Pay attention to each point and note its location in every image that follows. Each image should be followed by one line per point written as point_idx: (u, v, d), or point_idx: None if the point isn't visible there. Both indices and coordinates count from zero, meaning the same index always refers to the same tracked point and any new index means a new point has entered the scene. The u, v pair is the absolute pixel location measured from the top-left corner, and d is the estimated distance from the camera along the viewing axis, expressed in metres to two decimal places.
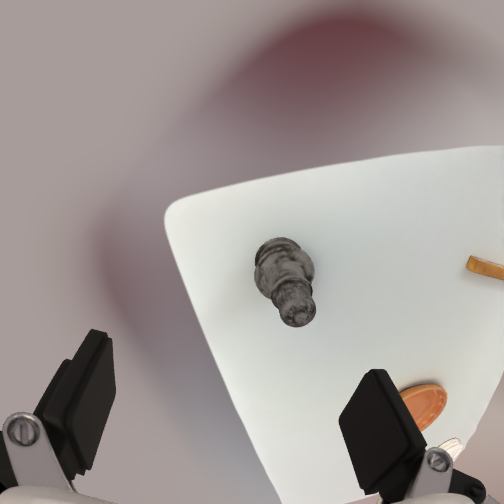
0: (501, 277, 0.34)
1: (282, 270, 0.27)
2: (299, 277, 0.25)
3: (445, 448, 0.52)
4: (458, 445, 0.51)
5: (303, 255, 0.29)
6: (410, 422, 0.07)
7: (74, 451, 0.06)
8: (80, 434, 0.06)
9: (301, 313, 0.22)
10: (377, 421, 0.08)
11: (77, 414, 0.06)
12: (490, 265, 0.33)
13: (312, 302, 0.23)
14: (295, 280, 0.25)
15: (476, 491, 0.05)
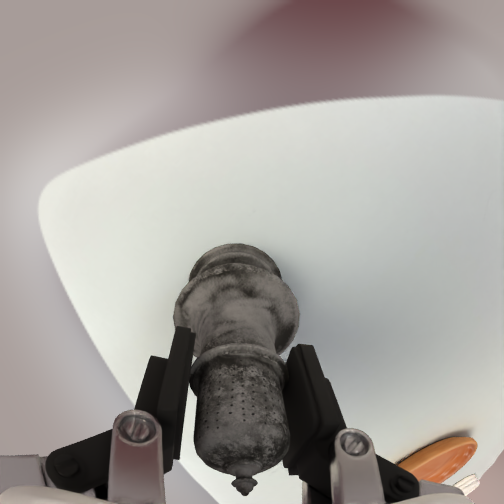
0: None
1: (222, 323, 0.11)
2: (254, 349, 0.10)
3: (461, 487, 0.37)
4: (475, 483, 0.36)
5: (274, 284, 0.13)
6: (325, 398, 0.08)
7: (174, 442, 0.07)
8: None
9: (245, 464, 0.07)
10: (296, 395, 0.09)
11: None
12: None
13: (279, 432, 0.07)
14: (244, 357, 0.10)
15: (403, 485, 0.06)
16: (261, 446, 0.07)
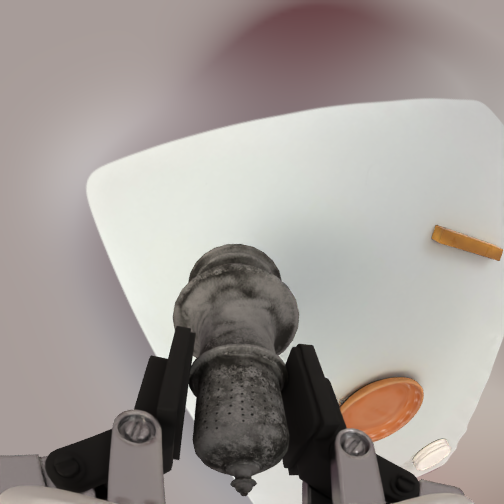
0: (477, 251, 0.32)
1: (221, 324, 0.11)
2: (253, 349, 0.10)
3: (431, 450, 0.49)
4: (445, 446, 0.48)
5: (274, 284, 0.13)
6: (325, 398, 0.08)
7: (174, 442, 0.07)
8: None
9: (244, 464, 0.07)
10: (297, 395, 0.09)
11: None
12: (461, 236, 0.31)
13: (278, 432, 0.07)
14: (243, 357, 0.10)
15: (403, 485, 0.06)
16: (260, 446, 0.07)
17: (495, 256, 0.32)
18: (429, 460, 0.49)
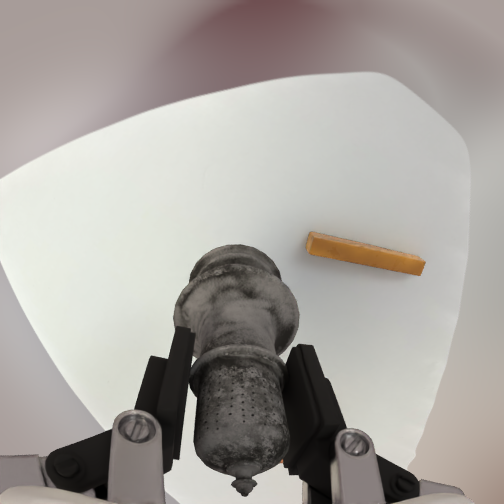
0: (379, 264, 0.30)
1: (222, 324, 0.11)
2: (254, 350, 0.10)
3: None
4: None
5: (274, 285, 0.13)
6: (325, 398, 0.08)
7: (174, 442, 0.07)
8: None
9: (245, 465, 0.07)
10: (297, 395, 0.09)
11: None
12: (346, 245, 0.29)
13: (278, 433, 0.07)
14: (244, 358, 0.10)
15: (403, 485, 0.06)
16: (261, 447, 0.07)
17: (413, 270, 0.30)
18: None
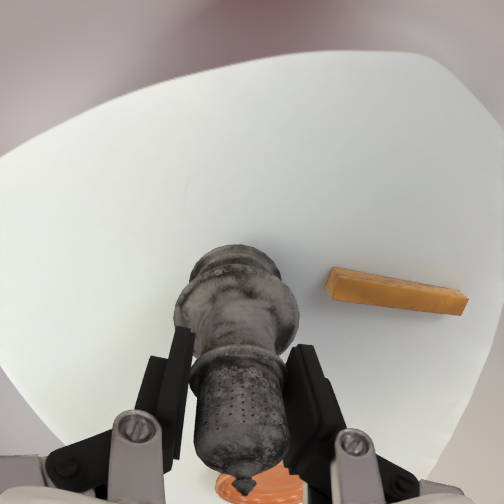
0: (417, 307, 0.22)
1: (222, 324, 0.11)
2: (254, 350, 0.10)
3: None
4: None
5: (274, 285, 0.13)
6: (325, 398, 0.08)
7: (174, 442, 0.07)
8: None
9: (245, 465, 0.07)
10: (297, 395, 0.09)
11: None
12: (380, 286, 0.21)
13: (279, 433, 0.07)
14: (244, 358, 0.10)
15: (403, 485, 0.06)
16: (261, 447, 0.07)
17: (454, 310, 0.22)
18: None
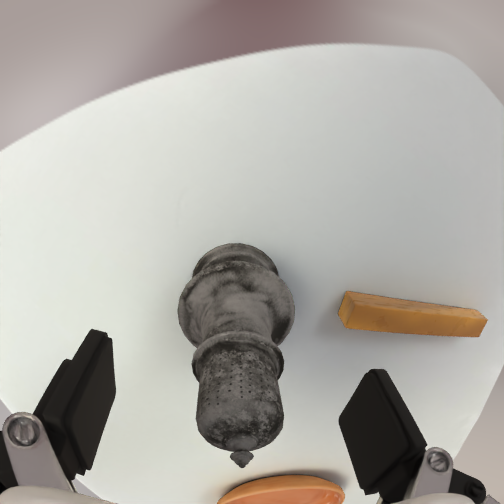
0: (436, 331, 0.19)
1: (223, 314, 0.13)
2: (251, 336, 0.11)
3: None
4: None
5: (271, 279, 0.14)
6: (410, 422, 0.07)
7: (74, 451, 0.06)
8: (80, 434, 0.06)
9: (242, 438, 0.08)
10: (377, 421, 0.08)
11: (77, 414, 0.06)
12: (399, 312, 0.18)
13: (273, 409, 0.08)
14: (242, 343, 0.11)
15: (476, 491, 0.05)
16: (257, 421, 0.08)
17: (472, 332, 0.19)
18: None
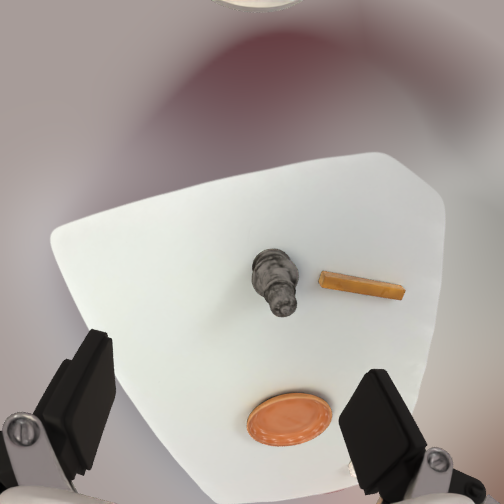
0: (370, 293, 0.41)
1: (273, 275, 0.35)
2: (285, 280, 0.34)
3: None
4: None
5: (289, 263, 0.37)
6: (410, 422, 0.07)
7: (74, 451, 0.06)
8: (80, 434, 0.06)
9: (285, 306, 0.30)
10: (377, 421, 0.08)
11: (77, 414, 0.06)
12: (347, 281, 0.41)
13: (294, 298, 0.31)
14: (282, 282, 0.33)
15: (476, 491, 0.05)
16: (289, 301, 0.31)
17: (395, 296, 0.42)
18: None
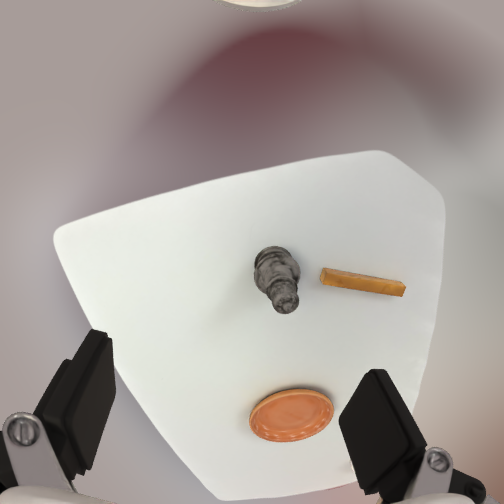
0: (371, 290, 0.42)
1: (275, 272, 0.36)
2: (287, 277, 0.34)
3: None
4: None
5: (291, 260, 0.37)
6: (410, 422, 0.07)
7: (74, 451, 0.06)
8: (80, 434, 0.06)
9: (287, 303, 0.31)
10: (377, 421, 0.08)
11: (77, 414, 0.06)
12: (348, 277, 0.41)
13: (296, 295, 0.31)
14: (284, 279, 0.34)
15: (476, 491, 0.05)
16: (291, 298, 0.31)
17: (396, 293, 0.43)
18: None
